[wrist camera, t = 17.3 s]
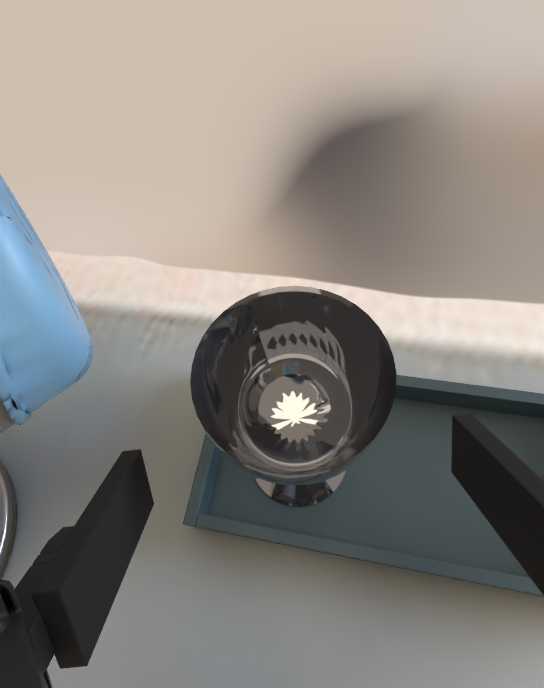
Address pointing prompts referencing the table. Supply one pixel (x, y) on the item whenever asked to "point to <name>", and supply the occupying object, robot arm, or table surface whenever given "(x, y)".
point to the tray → (392, 490)
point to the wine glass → (294, 389)
